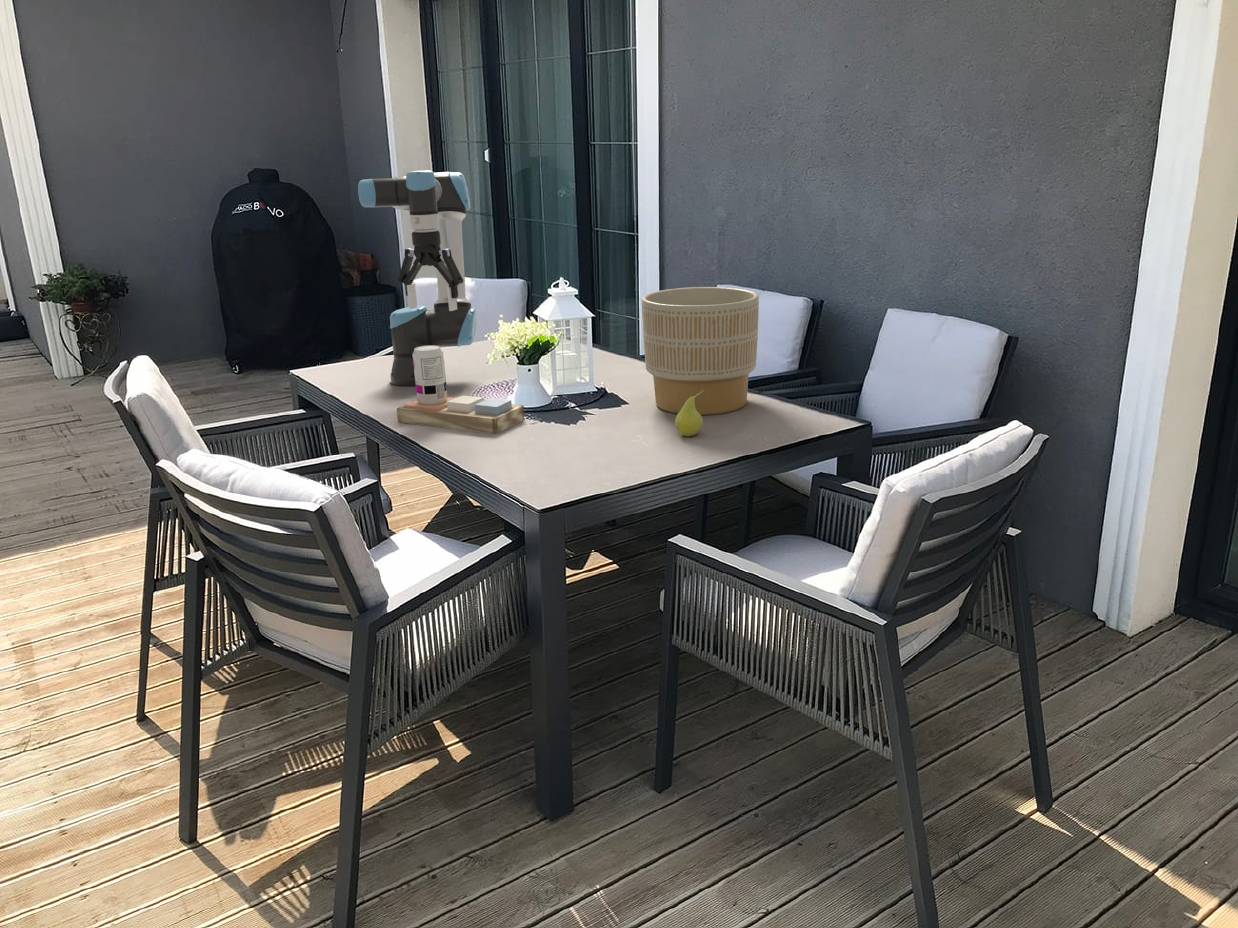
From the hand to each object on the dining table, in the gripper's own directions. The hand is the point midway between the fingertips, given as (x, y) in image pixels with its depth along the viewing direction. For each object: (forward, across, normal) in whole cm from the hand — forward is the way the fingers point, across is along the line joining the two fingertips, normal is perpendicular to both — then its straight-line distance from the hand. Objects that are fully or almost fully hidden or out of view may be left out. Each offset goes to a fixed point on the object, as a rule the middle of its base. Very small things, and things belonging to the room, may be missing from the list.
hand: (433, 309), depth 275 cm
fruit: (+29, +76, +1) cm, 81 cm away
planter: (+29, +67, +30) cm, 79 cm away
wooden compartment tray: (+29, +12, -8) cm, 32 cm away
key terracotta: (+29, +3, -8) cm, 30 cm away
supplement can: (+24, +3, -8) cm, 26 cm away
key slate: (+27, +23, -8) cm, 36 cm away
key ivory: (+27, +14, -8) cm, 31 cm away
